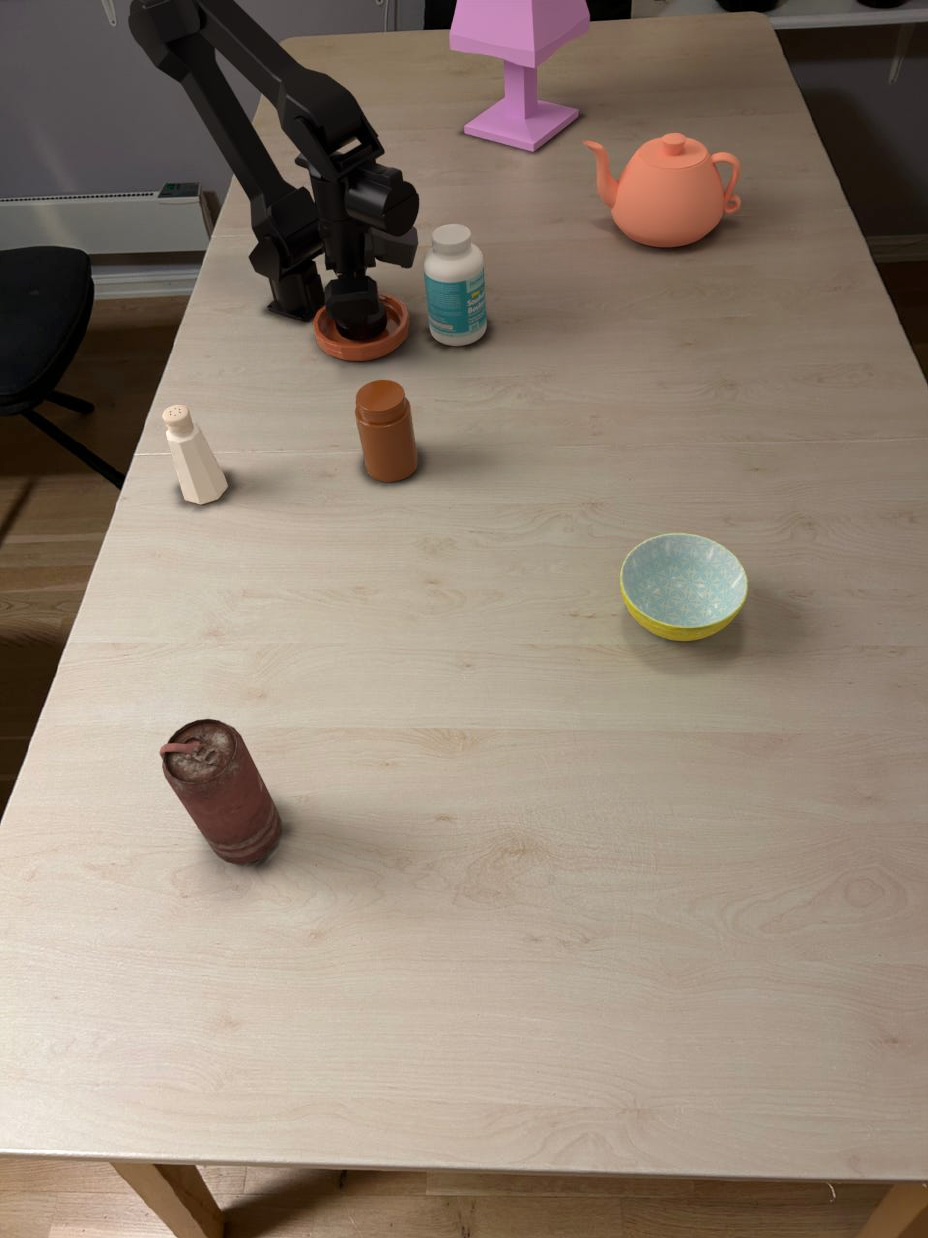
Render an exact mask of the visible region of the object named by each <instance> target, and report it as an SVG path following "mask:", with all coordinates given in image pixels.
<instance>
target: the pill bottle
mask: <svg viewBox="0 0 928 1238" xmlns="http://www.w3.org/2000/svg"><path fill="white" fill-rule="evenodd" d="M422 264H423V265H422V269H423V277H424V287H425V295H426V305H427V315H428V325H429V330H430V334H431V336H432V337H433V339H434V340H436V341H437V342H438V343H440V344H443V345H445V346H453V347H462V346H467V345H470V344H473V343H475V342H477V341H479V340H480V339H481V338H482V337H483V336H484V335H485V333H486V331H487V326H488V320H487V319H488V318H487V301H486V300H487V299H486V282H485V281H486V279H485V278H486V277H485V259H484V255H483V252H482V251H481V249H480V248H479V246H477V245H476V244H474V243H472V233H471V230H470V229H469V228H468V227H467V226H465V225H463V224H458V223H448V224H444V225H441V226H438V227H436V228H435V229H434V230H433V231H432V233H431V246H430V248H428V249H427V251H426V252H425V254H424V256H423V260H422Z"/></svg>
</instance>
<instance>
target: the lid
mask: <svg viewBox="0 0 928 1238" xmlns="http://www.w3.org/2000/svg"><path fill="white" fill-rule="evenodd" d="M379 306H380V311H379V312H378V313H377V314H375V315H368V320H367V335H366V340H367V339H371V338H373V337H376V336H378V335H379V334H381V333H382V332H383V331H384V330H385V328H386V326H387V324H388V323H387V315H386V310H385V306H384V305H383V303H382V302H381V301H379ZM335 325H336V330H337V331H338V333H339V334H340V335H341V336H342V337H344V338H346V339H349V340H357V339H356V338H355V337H354V335H353V334H352V333H351V332H350V330H349V329H348V328H347V327H346V325H345V324H344V323H343V322H342V321H341V320H340V319H335ZM357 341H358V340H357Z"/></svg>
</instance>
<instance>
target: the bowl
mask: <svg viewBox="0 0 928 1238" xmlns="http://www.w3.org/2000/svg"><path fill="white" fill-rule="evenodd" d="M619 572H620V573H619V582H620V584H619V585H620V586H619V587H620V591H621V595H622V600H623V602H624V604H625V606H626V608H627V610H628V612H629V613H630V614H631V616H632V617H633V618H634V620H635V621H636V622H637V623H638V624H639V625H640V626H641V627H642V628H644V629H646V630H647V631H648V632H649V633H651V634H653V635H655V636H657V637H660V638H662V639H666V640H670V641H678V642H690V641H697V640H701V639H705V638H709V637H710V636H713V635H714V634H716V633H718V632H720V631H721V630H723V629H724V628H725V627H727V626H728V625H729V624H730V623H731V622H732V621H733V620H734V618H736V616H737V615H738V614H739V612H740V611H741V609H742V608H743V606H744V604H745V602H746V599H747V596H748V591H749V581H748V576H747V572H746V569H745V568H744V566H743V564H742V562H741V561H740V559H739V558H738V557H737V556H736V555H735V553H733V552H732V551H731V550H729V549H728V548H727V547H726V546H724V545H723V544H721V543H720V542H717V541H715V540H713V539H711V538H708V537H705V536H702V535H700V534H699V535H698V534H695V533H694V534H693V533H687V532H671V533H670V532H669V533H663V534H658V535H656V536H653V537H649V538H647V539H645V540H643V541H641V542H640V543H639V544H637V545H636V546H634V547H633V548H632V549H631V550H630V552H629V553H628V554H627V555H626V556H625V558H624V560H623V562H622V564H621V567H620V571H619Z"/></svg>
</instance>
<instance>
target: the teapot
mask: <svg viewBox="0 0 928 1238" xmlns="http://www.w3.org/2000/svg"><path fill="white" fill-rule="evenodd" d="M582 143H583V144H584V145H585V146H586V147H587V148H588V149H589V150H590V151H591V152H592V153H593V155H594V157H595V162H596V187H597V192H598V195H599V197H600V199H601V200H602V202H603V203H604V204H605V205H606V206H608V207H609V208H610V213H611V217H612V219H613V221H614V223H615V224H616V226H617V227H618V228H619V229H620V230H621V232H622V233H623V234H624V235H625V236H626V237H628V238H629V239H630V240H631V241H634V242H636V243H639V244H640V245H641V244H642V245H646V246H649V247H655V248H675V247H677V248H678V247H682V246H687V245H690V244H693V243H696V242H698V241H700V240H701V239H703V238H704V237H705V236H706V235H708V234H709V233H710V232H712V231H713V230H714V229H715V228H716V226H717V225H718V224H719V223H720V221H721V220H722V217H723V214H725V215H732V214H735V213H736V212H738V211H739V209H740V208H741V204H742V200H741V197H740V196H739V195H738V194H736V193H735V194H733V192H734V190H735V188H736V187H737V184H738V181H739V179H740V175H741V163H740V160H739V159H738V158H737V156H735V155H734V154H733V153H730V152H727V151H720V152H716V153H713V154H712V155H711V153H710V152H709V150H708V148H707V147H706V146H705V144H703V143H702V142H700V141H698V140H696V139H694V138H691V137H687V136H686V135H685V134H683V133H679V132H670V133H666V134H664V135H663V136H662V137H655V138H654V139H651V140H648V141H646V142H644V143H643V144H642V145H641V146H640V147H639V148H638V149H637V150H636V151H635V152H634V154H633V156H632V157H630V159H629V161H628V163H627V164H626V165H625V166H624V168H623V170H622V171H621V173H620V175H619V177H618V180H617V179H615V178H614V177H613V176H612V175H611V173H610V158H609V154H608V151H607V149H606V148H605V147H604V145H602V144H600V143H598V142H596V141H591V140H583V141H582ZM717 163H727V164H729V165H731V167H732V173H731V177H730V179H729V182H728V184H727V186H726V188H725V190H724V185H723V181H722V177H721V175H720V172H719V169H718V167H717V165H716V164H717ZM731 201H732V202H734V203H733V204H729V202H731Z"/></svg>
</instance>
